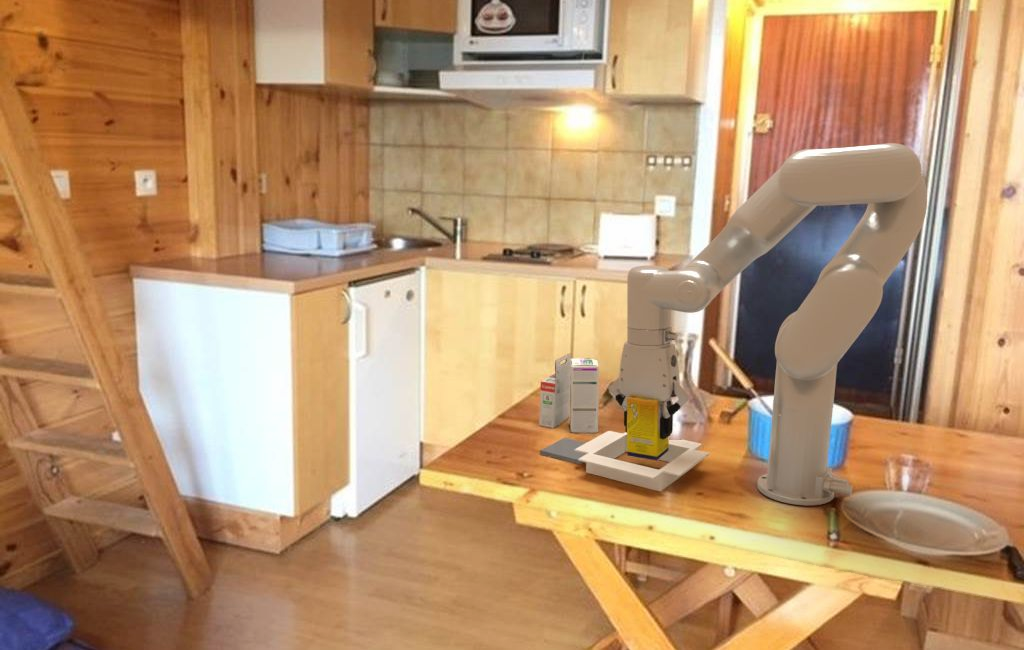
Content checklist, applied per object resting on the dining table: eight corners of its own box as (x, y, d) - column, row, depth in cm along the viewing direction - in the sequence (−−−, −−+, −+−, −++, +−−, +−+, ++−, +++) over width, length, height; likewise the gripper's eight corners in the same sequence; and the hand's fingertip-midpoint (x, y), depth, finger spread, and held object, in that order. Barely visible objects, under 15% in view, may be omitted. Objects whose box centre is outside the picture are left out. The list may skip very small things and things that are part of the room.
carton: (716, 465, 158) (717, 447, 157) (669, 501, 142) (670, 481, 141) (617, 442, 170) (617, 425, 169) (563, 473, 153) (563, 455, 152)
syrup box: (598, 433, 175) (600, 364, 172) (569, 433, 175) (571, 364, 172) (596, 424, 180) (598, 358, 177) (568, 424, 180) (570, 357, 177)
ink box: (538, 426, 179) (539, 358, 176) (554, 416, 186) (555, 350, 183) (554, 429, 177) (556, 360, 174) (569, 418, 184) (571, 352, 181)
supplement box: (638, 446, 159) (639, 389, 156) (669, 451, 156) (670, 393, 153) (625, 455, 154) (626, 397, 152) (657, 461, 151) (657, 401, 148)
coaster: (604, 450, 165) (604, 446, 165) (580, 464, 158) (581, 460, 157) (564, 441, 170) (564, 437, 170) (539, 454, 163) (540, 450, 162)
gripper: (703, 337, 149) (701, 436, 152) (615, 328, 158) (615, 421, 162) (685, 345, 143) (684, 448, 146) (595, 335, 152) (595, 432, 156)
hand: (647, 433), depth 154 cm, fingers closed on supplement box, 6 cm apart
